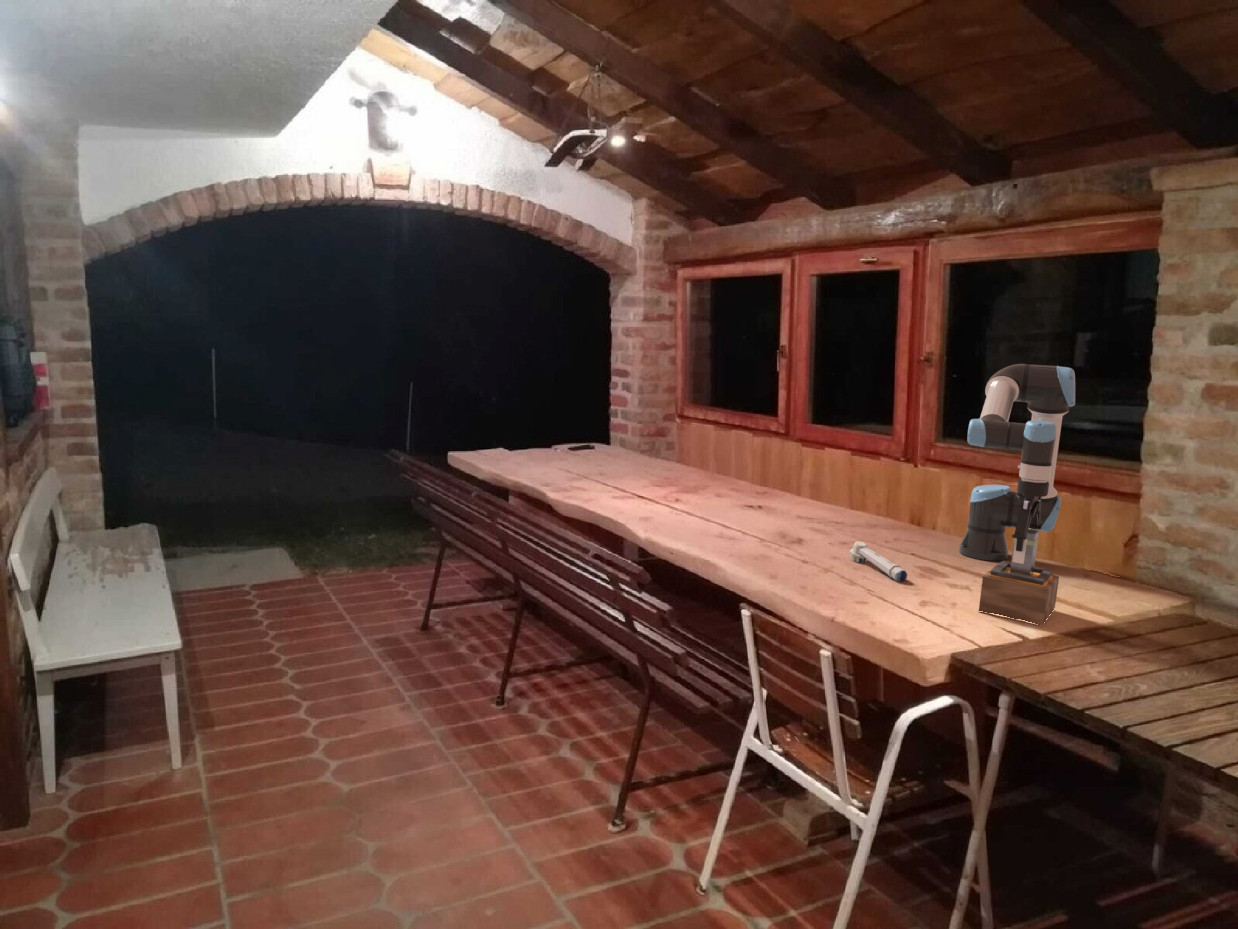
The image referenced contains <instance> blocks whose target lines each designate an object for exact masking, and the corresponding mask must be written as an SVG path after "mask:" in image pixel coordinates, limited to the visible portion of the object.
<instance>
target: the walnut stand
mask: <svg viewBox="0 0 1238 929" xmlns="http://www.w3.org/2000/svg"><path fill="white" fill-rule="evenodd" d="M1010 567H1011V561H1007V560H1000V562H999V563H996V564H995V565H994V566H993V567H992V568H990V569H989V571H987V572H986V573H985V574H983V575H982V580H981V590H980V596H979V605H978V612H979V611H983V612H987V613H994V614H999V615H1003V616H1007V617H1010V618H1014V619H1021V620H1025V621H1028V622H1032V623H1035V624H1038V625H1037V626H1039V625H1042V626H1041V627H1043V626H1044V625H1045V624H1044V622H1045V621H1046V619H1047V618H1048V617H1049V615H1050V614H1051V613H1052V611H1053V610H1054V608H1056V602H1057V595H1058V588H1059V587H1058V586H1059V580H1060V575H1059V574H1055V573H1053V572H1054V570H1053V569H1049V568H1044V567H1038V566H1035V567H1034V574H1033V575H1032V576H1031V577H1029V576H1024V575H1019V574H1014V573H1010ZM1052 614H1053V613H1052ZM1052 614H1051V615H1052ZM1049 618H1050V617H1049ZM1049 618H1048V619H1049ZM1046 622H1047V621H1046ZM1046 622H1045V623H1046ZM1043 624H1044V625H1043Z"/></svg>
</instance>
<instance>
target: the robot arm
mask: <svg viewBox="0 0 1238 929" xmlns="http://www.w3.org/2000/svg"><path fill="white" fill-rule="evenodd" d="M984 393H985V396H986V398H985V400H984V404H983V406H982V411H981V413H980V417H979V418H972V419H970V420H969V424H968V429H967V443H968V444H969V445H970V446H975V447H980V448H992V449H1001V450H1002V449H1003V450H1012V451H1021V459H1020V464H1018V466H1017V469H1018V470H1019V472H1018V473H1019V474H1018V476H1019V479H1018V480H1017V488H1016V491H1012V489H1011V487H1010V486H1009V485H1003V484H984V485H978V486H975V487H974V488H973V489H972V491H971V496H970V499H969V503H970V505H969V512H968V519H967V520H968V521H967V528H966V531H965V533H964V535H963V538H962V539H961V541H960V543H959V546H958V547H959V548H958V552H959V553H960V554H961V555H963V556H966V557H968V558H973V559H975V560H981V561H982V560H983V561H991V562H992V561H993V562H995V561H996V562H997V561H998V562H999V561H1000V562H1001V561H1006V560H1007V559H1008V558H1009V548H1008V543H1007V539H1006V538H1007V537H1006V529H1007V528H1006V527H1008V528H1015V530H1014V533H1012V535H1011V537H1012V538H1013V539H1014V538H1015V545H1014V553H1013V560H1012V559H1011V560H1012V562H1016V563H1021V564H1024V559H1025V551H1026V543H1027V539H1026V536H1027V533H1028V529H1031V530H1037V531H1039V532H1044V533H1045V532H1046V533H1050V532H1052V531H1054V528H1055V526H1056V523H1057V520H1058V516H1059V513H1060V509H1061V505H1062V501H1063V500H1062V499H1063V498H1062V497H1060V496H1058V493H1059V492H1058V491H1057V489H1056V488H1055V487H1054V481H1055V475H1056V467H1057V459H1058V452H1059V447H1060V446H1059V444H1060V437H1061V430H1062V423H1063V422H1062V421H1063V417H1064V416H1065V415H1066V414H1067V413H1069V412H1070V411H1069V410H1070V408H1072V407H1074V406H1075V405H1076V375H1075V371H1074V369H1073V368H1071V367H1067V366H1059V365H1046V364H1045V365H1044V364H1043V365H1042V364H1026V363H1018V364H1017V363H1016V364H1012V365H1008V366H1006V367H1004V368H1002V369H1000V370H998V371H997V372H995V373H994V374H993V375H992V376H991V377H990V378H989V380H987V382H986V386H985V390H984ZM1014 402H1021V403H1027V409H1028V411H1029V412H1030V413H1031V420H1028V421H1027V422H1026V423H1024V422H1011V421H1009V419H1010V417H1011V416H1010V415H1011V411H1012V408H1013V404H1014ZM1020 533H1021V534H1020Z"/></svg>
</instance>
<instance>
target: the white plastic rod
mask: <svg viewBox="0 0 1238 929" xmlns="http://www.w3.org/2000/svg"><path fill="white" fill-rule="evenodd" d="M849 554H850V555H849V558H850V561H852V562H856V563H858V564H859V563H860V564H863V563H866V562H867V560H868V561H869V563H871V564H873V565H874V566H875V567H876V568H878V569H879V570H881V571H882V572H883V573H884V574H886V575H887V576H888V577H889V579H893V580H894V581H896V582H897V583H899V582H900V583H902V582H905V581H906V580H907V579H908V572H907V571H906V570H904V569H903V568H902V567H901V566H900V565H899V564H896V563H893V562H892V561H890V560H889V559H887V558H885V557H884V556H882V555H881V554H879V553H877V552H875V551H874V550H872V549H870V548H868V547H867V544H866V543H865V542H863V541H859V540H858V541H855V543H854V544H853V547H852V548H850V549H849Z"/></svg>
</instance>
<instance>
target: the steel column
mask: <svg viewBox="0 0 1238 929" xmlns="http://www.w3.org/2000/svg"><path fill="white" fill-rule="evenodd" d="M1020 534H1021V533H1020ZM1039 535H1040V531H1037V530H1031V529H1028V533H1027V536H1026V539H1027V543H1026V551H1025V559H1024V564H1021V563H1016V562H1012V560H1013V553H1014V545H1015V538H1013V545H1012V551H1011V560H1010V562H1011V567H1010V573H1014V574H1019V575H1024V576H1029V577H1031V576H1032V575H1033V574H1034V567H1036V566H1035V564H1036V557H1037V549H1038V543H1039Z"/></svg>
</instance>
